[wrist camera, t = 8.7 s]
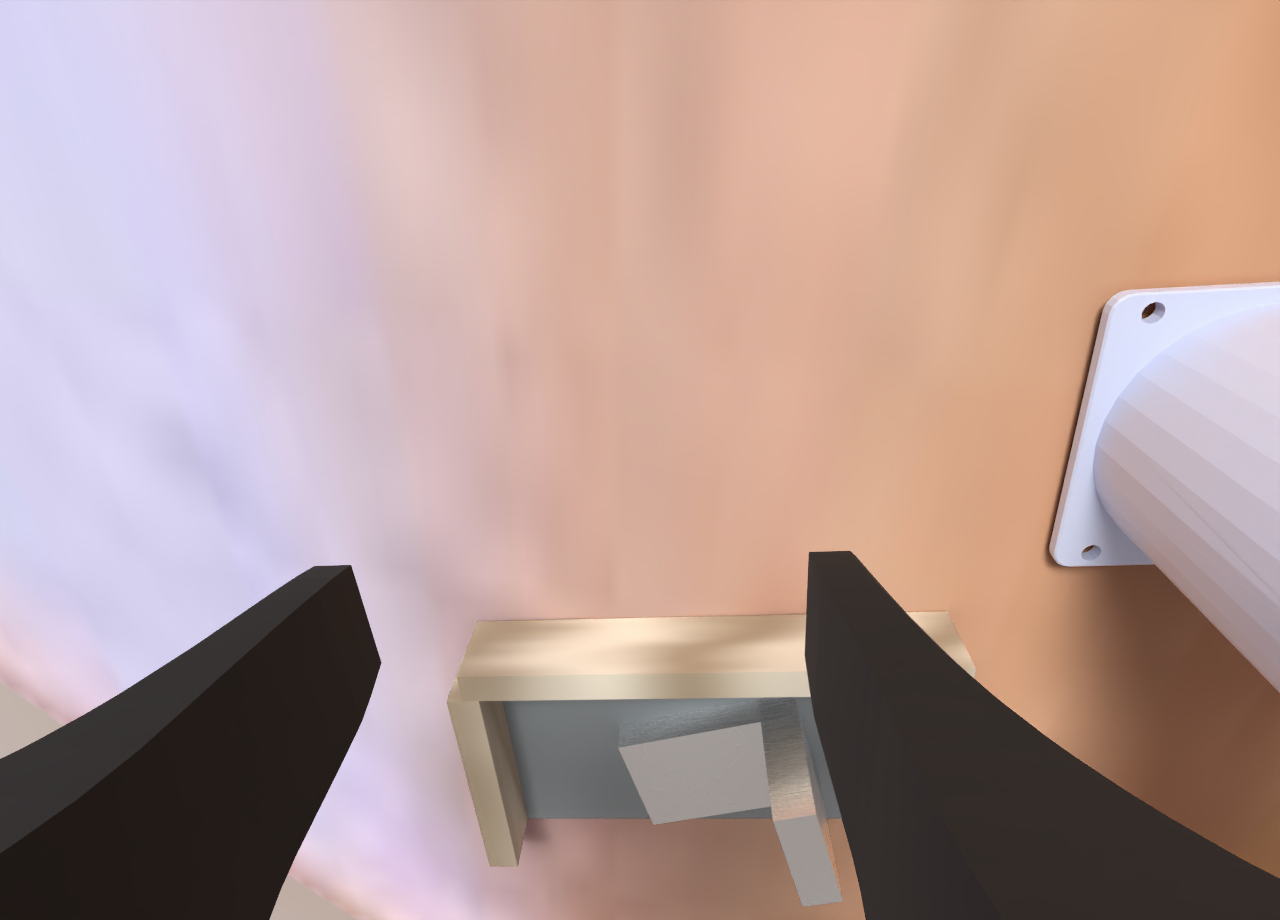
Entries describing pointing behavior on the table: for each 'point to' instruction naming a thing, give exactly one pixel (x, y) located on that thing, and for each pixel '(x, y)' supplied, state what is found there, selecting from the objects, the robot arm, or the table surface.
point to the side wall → (490, 775)
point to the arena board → (608, 755)
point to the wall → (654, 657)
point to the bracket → (739, 778)
